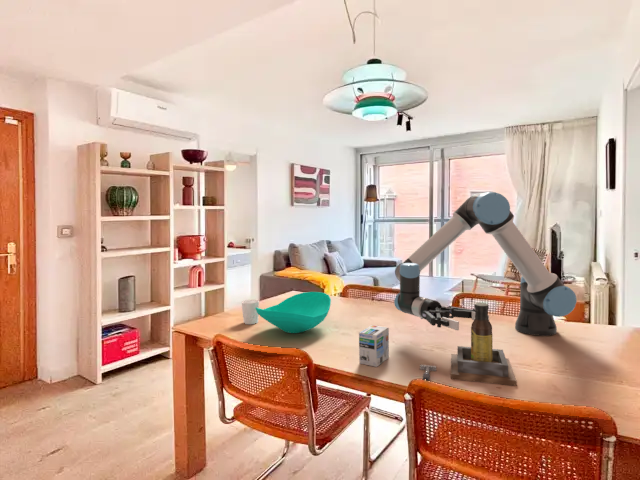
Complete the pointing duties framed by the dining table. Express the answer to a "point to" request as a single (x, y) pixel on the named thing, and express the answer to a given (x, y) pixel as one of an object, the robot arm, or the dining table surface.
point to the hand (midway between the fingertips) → (473, 322)
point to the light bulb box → (373, 345)
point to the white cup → (250, 311)
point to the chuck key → (427, 370)
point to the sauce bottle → (481, 335)
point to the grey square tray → (482, 368)
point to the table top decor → (298, 312)
